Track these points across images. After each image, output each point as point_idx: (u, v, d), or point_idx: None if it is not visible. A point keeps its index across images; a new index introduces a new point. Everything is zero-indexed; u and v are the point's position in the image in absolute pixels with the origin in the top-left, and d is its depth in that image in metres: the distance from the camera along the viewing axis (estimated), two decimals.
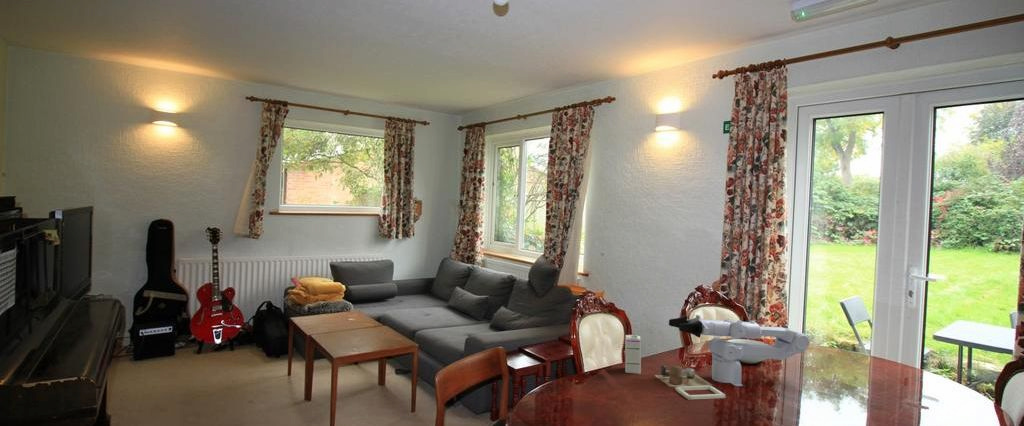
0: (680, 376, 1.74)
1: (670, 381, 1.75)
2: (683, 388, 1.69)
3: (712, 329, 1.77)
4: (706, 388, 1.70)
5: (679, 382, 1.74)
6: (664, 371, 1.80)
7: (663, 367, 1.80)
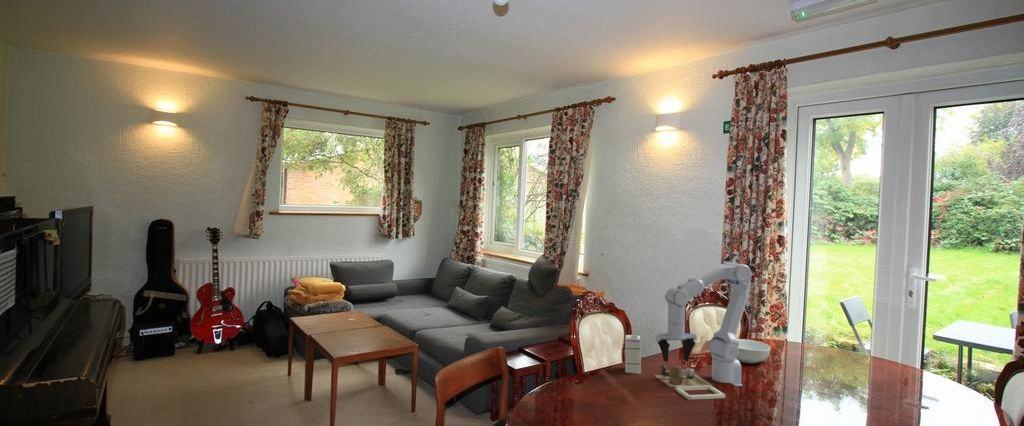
0: (680, 376, 1.74)
1: (670, 381, 1.75)
2: (683, 388, 1.69)
3: None
4: (706, 388, 1.70)
5: (679, 382, 1.74)
6: (664, 371, 1.80)
7: (663, 367, 1.80)
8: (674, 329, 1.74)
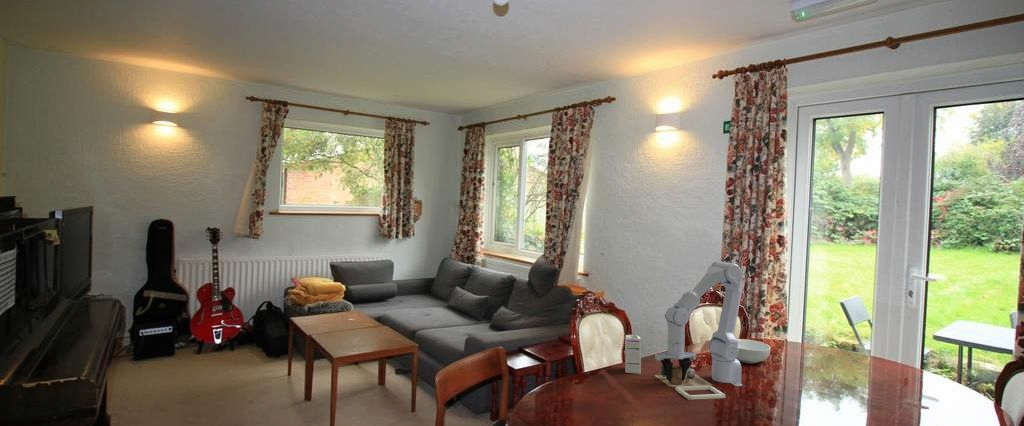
0: (680, 376, 1.74)
1: (670, 381, 1.75)
2: (683, 388, 1.69)
3: None
4: (706, 388, 1.70)
5: (679, 382, 1.74)
6: (664, 371, 1.80)
7: (663, 367, 1.80)
8: (674, 349, 1.74)
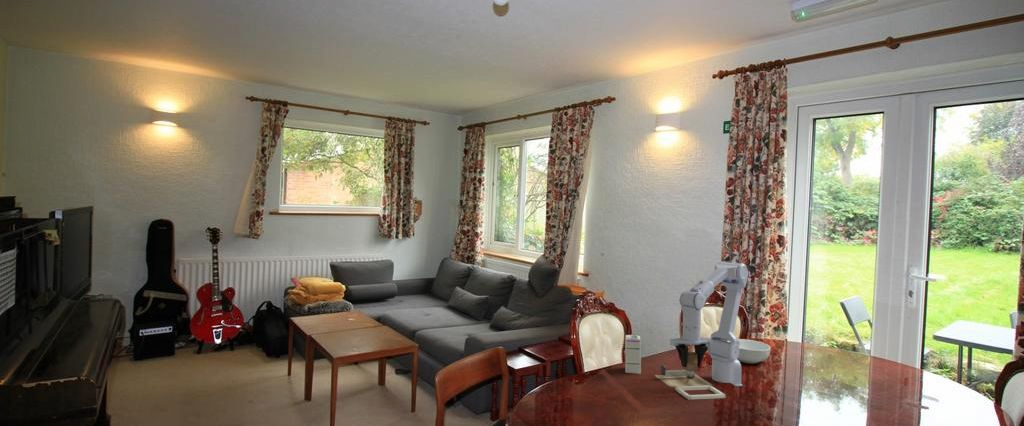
0: (696, 362, 1.68)
1: (685, 367, 1.69)
2: (683, 388, 1.69)
3: None
4: (706, 388, 1.70)
5: (695, 368, 1.68)
6: (664, 371, 1.80)
7: (663, 367, 1.80)
8: (690, 334, 1.67)
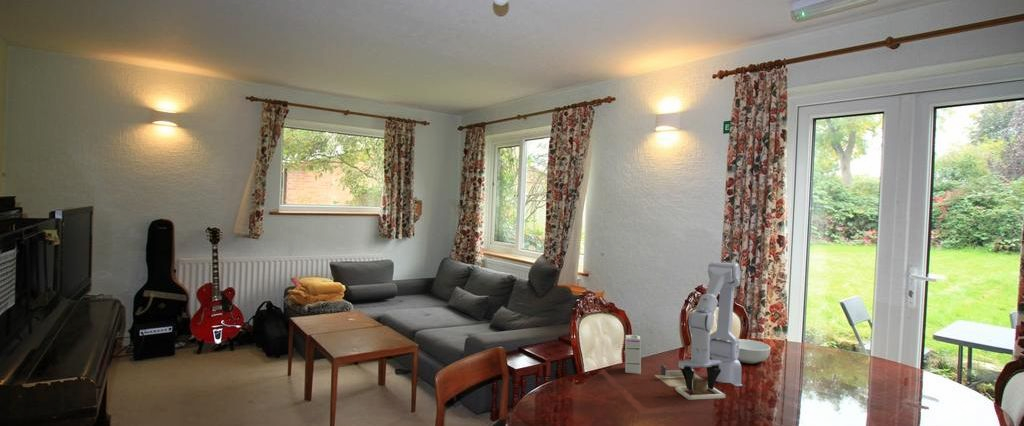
0: (705, 389, 1.64)
1: None
2: (683, 388, 1.69)
3: None
4: None
5: None
6: (664, 371, 1.80)
7: (663, 367, 1.80)
8: (699, 356, 1.63)
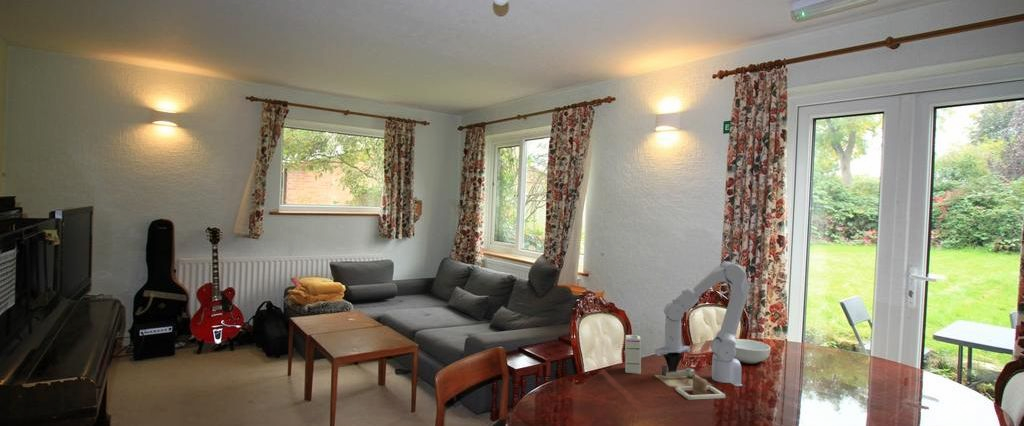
0: (705, 389, 1.64)
1: None
2: (683, 388, 1.69)
3: None
4: None
5: None
6: (665, 371, 1.79)
7: (664, 367, 1.79)
8: (673, 343, 1.80)
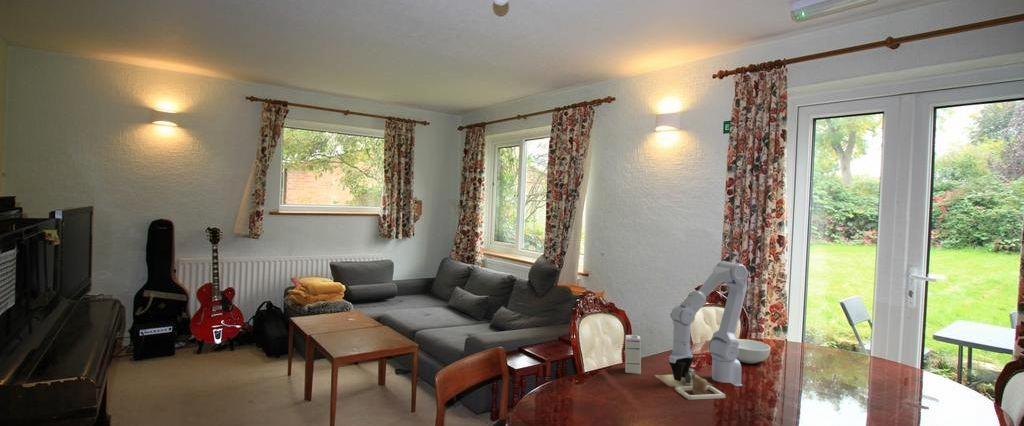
0: (705, 389, 1.64)
1: (694, 394, 1.65)
2: (683, 388, 1.69)
3: None
4: None
5: None
6: (690, 378, 1.72)
7: (690, 374, 1.72)
8: (685, 348, 1.73)
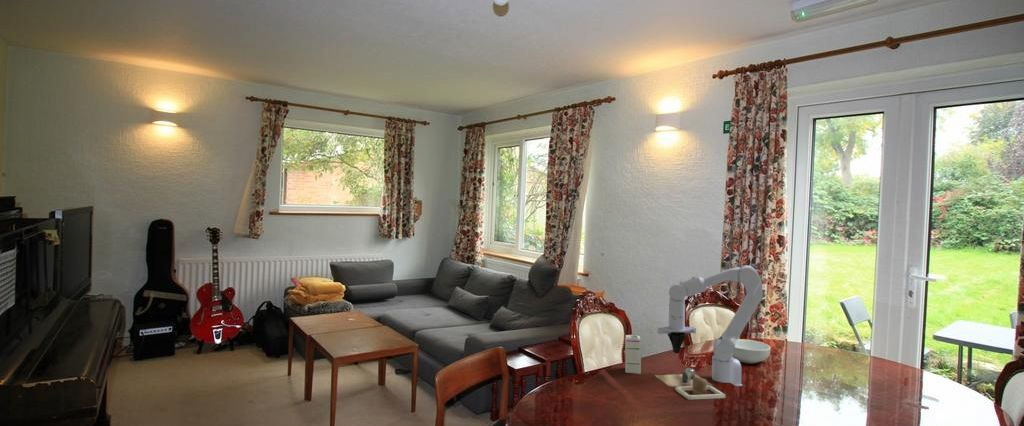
0: (705, 389, 1.64)
1: (694, 394, 1.65)
2: (683, 388, 1.69)
3: None
4: None
5: None
6: (687, 378, 1.73)
7: (687, 374, 1.72)
8: (675, 323, 1.84)
